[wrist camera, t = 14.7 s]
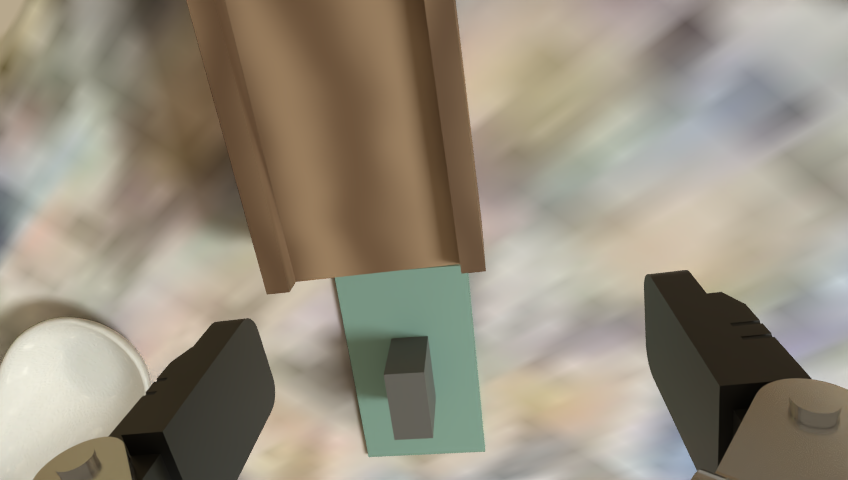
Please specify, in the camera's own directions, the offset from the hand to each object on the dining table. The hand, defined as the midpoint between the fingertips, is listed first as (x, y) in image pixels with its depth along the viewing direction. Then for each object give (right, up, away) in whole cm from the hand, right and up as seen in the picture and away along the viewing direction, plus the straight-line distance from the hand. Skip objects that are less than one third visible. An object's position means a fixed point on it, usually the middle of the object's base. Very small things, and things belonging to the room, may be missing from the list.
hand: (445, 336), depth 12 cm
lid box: (-4, +12, +29) cm, 31 cm away
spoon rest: (-32, -12, +41) cm, 54 cm away
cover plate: (-1, -8, +37) cm, 38 cm away
